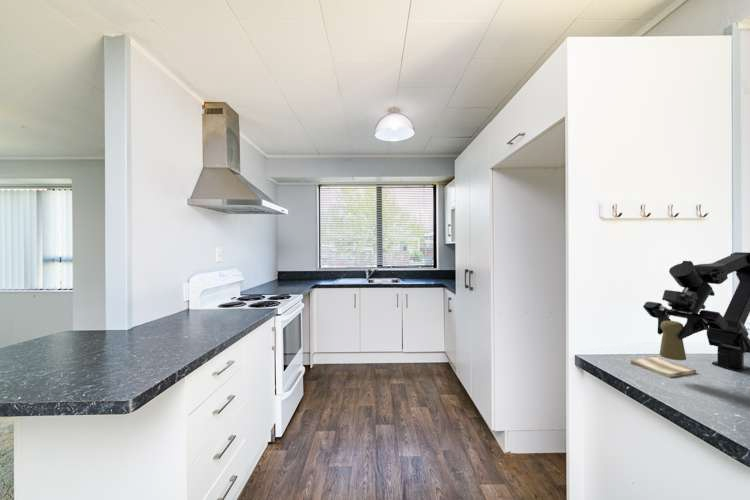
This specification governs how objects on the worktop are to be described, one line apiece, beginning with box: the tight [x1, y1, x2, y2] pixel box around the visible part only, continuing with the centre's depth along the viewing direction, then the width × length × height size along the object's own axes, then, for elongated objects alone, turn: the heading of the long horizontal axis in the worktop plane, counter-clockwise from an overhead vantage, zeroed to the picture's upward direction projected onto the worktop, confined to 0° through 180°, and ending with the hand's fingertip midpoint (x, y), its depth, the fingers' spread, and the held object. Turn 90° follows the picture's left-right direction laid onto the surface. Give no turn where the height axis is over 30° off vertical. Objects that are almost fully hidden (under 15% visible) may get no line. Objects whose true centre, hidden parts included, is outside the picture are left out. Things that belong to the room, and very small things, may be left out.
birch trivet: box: [630, 356, 697, 378], centre depth 102 cm, size 12×12×1 cm
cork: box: [658, 320, 687, 361], centre depth 94 cm, size 6×6×11 cm
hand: (668, 336), depth 94 cm, fingers closed on cork, 5 cm apart
